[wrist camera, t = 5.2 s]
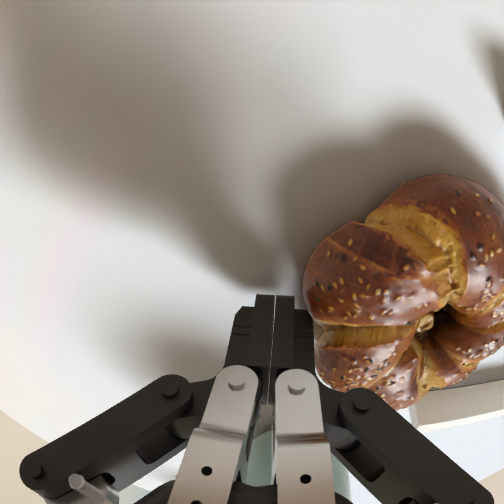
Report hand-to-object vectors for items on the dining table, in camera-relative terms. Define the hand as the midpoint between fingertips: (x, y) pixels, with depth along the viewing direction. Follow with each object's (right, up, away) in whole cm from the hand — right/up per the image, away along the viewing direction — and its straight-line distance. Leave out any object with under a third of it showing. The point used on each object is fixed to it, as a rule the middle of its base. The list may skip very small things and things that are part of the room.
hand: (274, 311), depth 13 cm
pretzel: (+7, +1, 0) cm, 7 cm away
